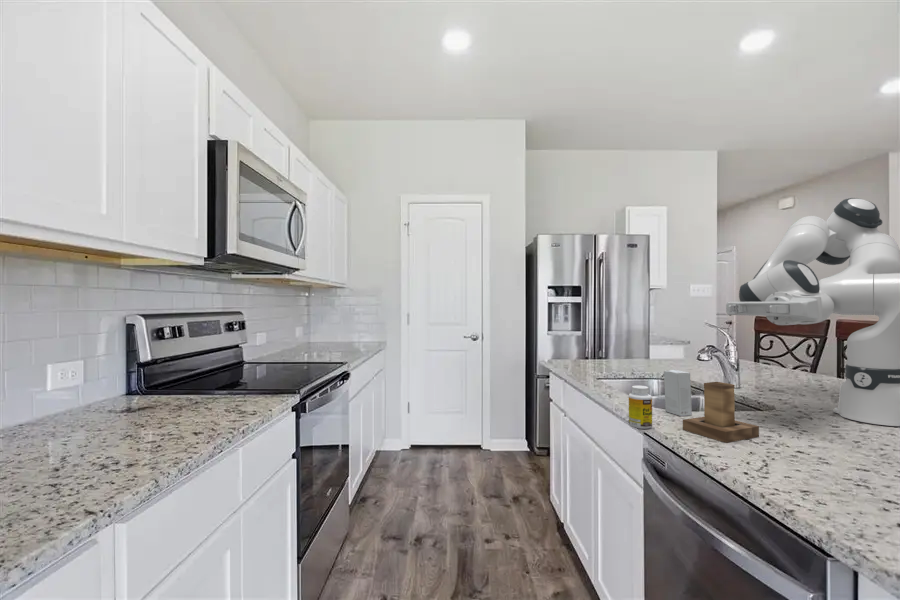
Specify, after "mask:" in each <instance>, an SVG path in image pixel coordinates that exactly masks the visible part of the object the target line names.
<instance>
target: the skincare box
mask: <svg viewBox="0 0 900 600" xmlns="http://www.w3.org/2000/svg"><path fill="white" fill-rule="evenodd" d="M663 382H664V384H663V385H664V404H665V407H664V408H665V412H667V413H669V414H672V415H675V416H676V415H677V416H679V417H688V416H690V417H691V416H692V415H693V410H692V409H693V407H692V388H691V387H692V385H691V372H688V371H683V370H678V369H666V370H665V369H664V370H663Z"/></svg>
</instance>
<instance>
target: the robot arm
mask: <svg viewBox="0 0 900 600" xmlns="http://www.w3.org/2000/svg"><path fill="white" fill-rule="evenodd" d="M880 213H881V212H880V210H879V209H878V207H877V205H876V204H875V203H873V202H872V201H870V200H867V199H863V198H858V197H850V198H845V199H843V200H841V201H840V202H838V204H837V205H836V206H835V207H834V209H833V211H832V212H831V214H830V215H829V216H828V218H827V219H826V220H825V219H823V218H822V217H819V216H817V215H806V216H803V217H801V218H799V219H797V220H796V221H795V222H794V223H793V224H791V226H790V227H788V229H787V230H786V232H785V234H783V237H782V239H781V240H780V242H779V244H778V245H777V246H776V248H775V249H774V250H773V252H772V254H770V256H769V257H768V259H767V260H766V261H765V262H764V264H763V265H762V266H761V267H760V269H759V270H758V271H757V273H756V274H755V275H754V276H753V278H752V279H751V280H750V281H747V282H744V284H741V285H740V287H739V292H738V298H739V301H728V302H726V304H725V313H726V314H727V316H750V317H751V316H754V317H760V316H761V317H765V318H766V319H767V320H768V321H769V322H770V323H772V324H775V325H776V326H793V325H812V324H818V323H822V322H824V321H826V320H827V319H829V318H830V317H831V316H832V314H836V315H849V316H851V315H855V316H857V315H858V316H859V315H860V316H862V315H863V316H877V317H878V321H876V323H875V324H873V325H870V326H866V327H863V328H860V329H858V330H856V331H854V332H852V333H851V334H850V335H849V336H848V337H847V340H846V352H847V353H846V356H847V357H846V358H847V361H846V362H847V363H846V364H845V367H844V374H845V375H844V376H845V378H846V380H845V381H844V382H842V383H841V384H840V386H839V393H838V394H839V395H838V397H839V398H838V406H837V407H834V408H833V410H832V411H833V413H836V414H838V415H839V416H841V417H842V418H845V419H849V420H852V421H857V422H861V423H866V424H873V425H879V426H881V425H882V426H887V427H888V426H890V427H900V247H899V244H898V243H897V241H896V240H895V239H894V238H893V236H891V235H889V234H887V233H884V232H880V231H879V230H878V227H880V226H882V224H883V220H882V219H881V218H880ZM848 260H849V263H848V266H847V267H846V268H844V269H842V271H840V272H838V273H835V274H833V275H830V276H827V277H824V278H820V279H818V277H817V275H816V273H815V272H814V270H813V269H812V268H811V267H810V266H808V264H810V263H811V262H813V261H817V262H819V263H822V264H824V265H829V266H836V265H842V264H844V263H846V262H847V261H848Z"/></svg>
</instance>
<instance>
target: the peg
mask: <svg viewBox="0 0 900 600" xmlns="http://www.w3.org/2000/svg"><path fill="white" fill-rule="evenodd" d="M735 388H736V384H733V383H727V382H722V381H709V382H708V381H707V382H703V396H704V397H703V402H704V404H703V405H704V411H703V413H704V416H703V417H704V422H705V423H708V424H712V425H716V426H719V427H729V426H735V420H736V416H735V415H736V413H735V412H736V411H735V407H736V406H735V403H736V402H735V401H736V400H735V399H736V398H735Z"/></svg>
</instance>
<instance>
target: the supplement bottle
mask: <svg viewBox="0 0 900 600" xmlns="http://www.w3.org/2000/svg"><path fill="white" fill-rule="evenodd" d="M649 393H650V389H649V387H648V385H647V386H646V385H632V386H631V393H629V394H628V424H629V426H630V427H631V428H634V429H639V430H648V429H649V430H650V429H651V428H653V396H652V394H649Z"/></svg>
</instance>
